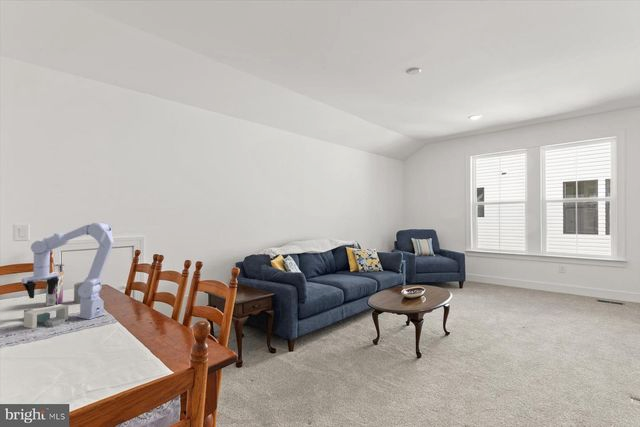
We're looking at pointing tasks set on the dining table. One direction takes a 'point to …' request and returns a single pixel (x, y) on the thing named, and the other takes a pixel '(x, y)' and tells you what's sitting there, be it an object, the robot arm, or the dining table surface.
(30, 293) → the robot arm
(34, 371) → the dining table surface
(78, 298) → the cup
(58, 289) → the candy bar box
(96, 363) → the dining table surface
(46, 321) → the steel token
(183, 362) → the dining table surface
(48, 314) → the slat blade
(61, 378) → the dining table surface
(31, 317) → the plinth shelf
